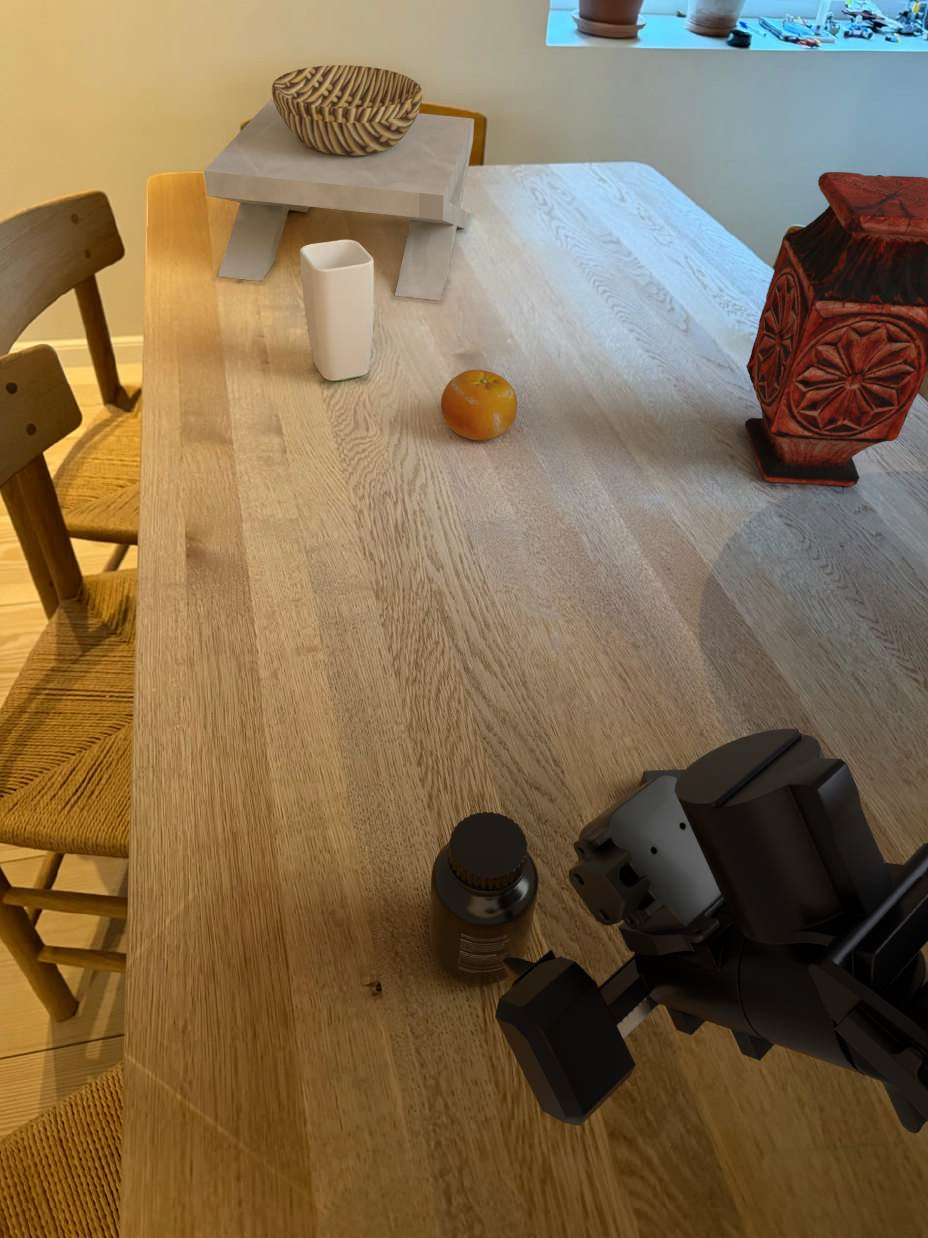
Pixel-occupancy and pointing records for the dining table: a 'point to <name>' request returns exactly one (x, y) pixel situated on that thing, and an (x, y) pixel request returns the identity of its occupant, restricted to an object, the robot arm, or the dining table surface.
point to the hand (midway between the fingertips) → (567, 917)
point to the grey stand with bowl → (346, 168)
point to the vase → (842, 330)
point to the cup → (339, 307)
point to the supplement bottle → (482, 899)
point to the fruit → (479, 405)
